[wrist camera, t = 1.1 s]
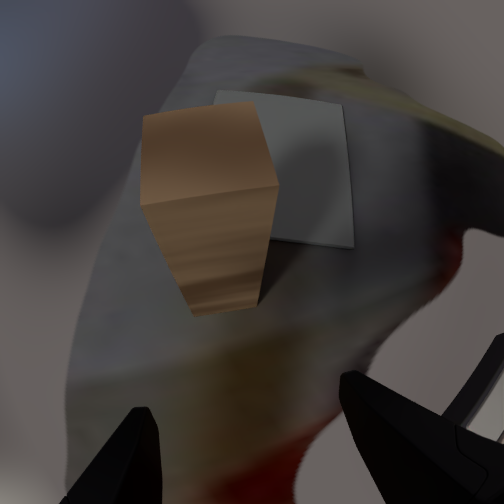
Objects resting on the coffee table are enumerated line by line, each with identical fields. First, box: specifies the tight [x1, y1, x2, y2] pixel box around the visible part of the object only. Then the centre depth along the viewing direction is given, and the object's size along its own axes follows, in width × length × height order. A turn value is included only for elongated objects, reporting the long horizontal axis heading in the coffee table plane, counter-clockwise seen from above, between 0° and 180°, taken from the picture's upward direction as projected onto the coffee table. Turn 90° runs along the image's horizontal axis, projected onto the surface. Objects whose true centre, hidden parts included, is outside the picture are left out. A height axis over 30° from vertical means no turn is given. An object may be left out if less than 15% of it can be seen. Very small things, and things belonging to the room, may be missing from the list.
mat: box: [213, 90, 354, 249], centre depth 29 cm, size 18×14×1 cm
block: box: [140, 101, 279, 317], centre depth 17 cm, size 4×4×14 cm
